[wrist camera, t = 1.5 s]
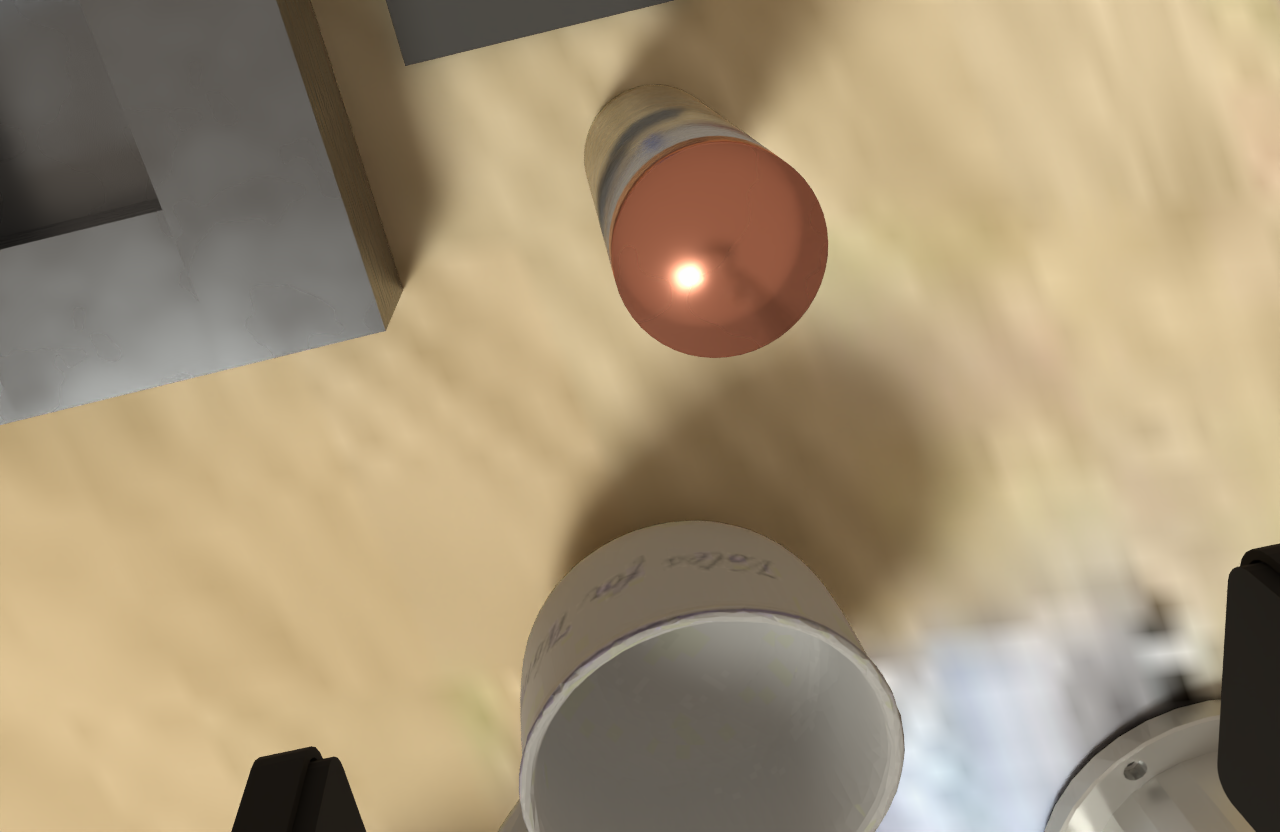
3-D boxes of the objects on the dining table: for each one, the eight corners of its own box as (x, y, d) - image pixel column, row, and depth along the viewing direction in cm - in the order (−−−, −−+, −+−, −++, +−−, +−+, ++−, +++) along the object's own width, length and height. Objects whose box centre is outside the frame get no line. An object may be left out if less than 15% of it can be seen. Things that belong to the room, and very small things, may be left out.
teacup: (741, 421, 34) (797, 542, 27) (889, 661, 38) (973, 824, 31) (377, 634, 36) (336, 803, 29) (554, 844, 40) (559, 1040, 33)
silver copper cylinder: (708, 69, 30) (809, 119, 19) (735, 209, 32) (843, 329, 21) (568, 103, 30) (589, 173, 19) (602, 241, 32) (639, 379, 21)
